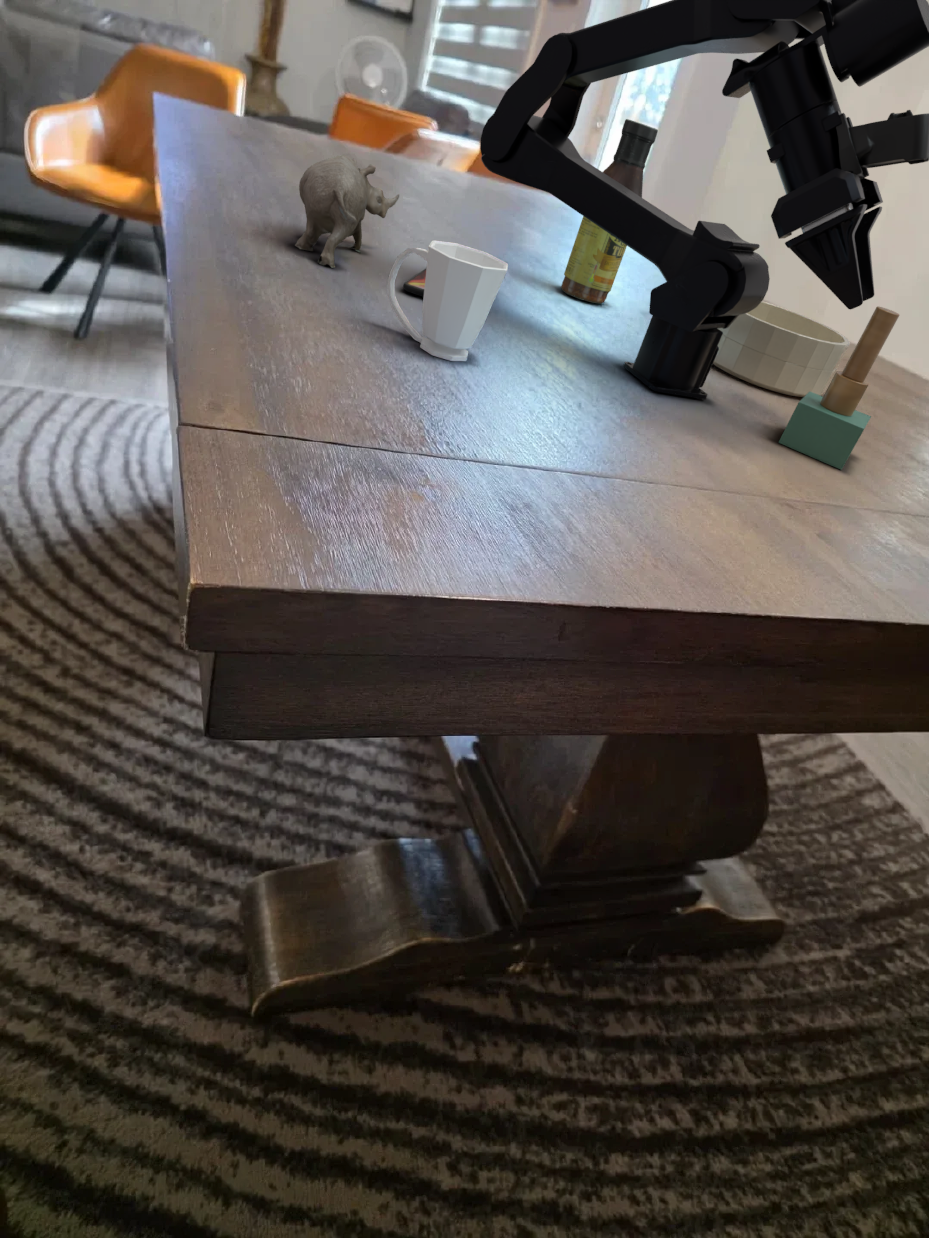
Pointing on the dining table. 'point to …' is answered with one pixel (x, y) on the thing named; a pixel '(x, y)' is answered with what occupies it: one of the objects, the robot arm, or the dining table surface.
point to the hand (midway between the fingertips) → (862, 303)
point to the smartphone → (416, 284)
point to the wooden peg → (859, 365)
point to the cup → (451, 296)
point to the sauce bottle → (594, 246)
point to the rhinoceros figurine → (338, 203)
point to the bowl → (781, 351)
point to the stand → (823, 431)
